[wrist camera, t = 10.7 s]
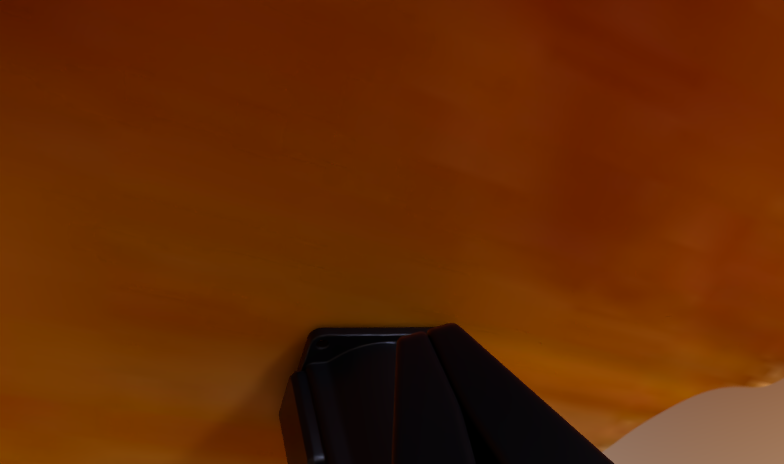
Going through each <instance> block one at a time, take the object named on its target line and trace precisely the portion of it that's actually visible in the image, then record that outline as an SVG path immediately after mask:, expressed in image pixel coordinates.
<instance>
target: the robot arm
mask: <svg viewBox="0 0 784 464" xmlns="http://www.w3.org/2000/svg"><path fill="white" fill-rule="evenodd" d="M320 340H322V341H320ZM279 417H280V423H281V430H282V434H283V440H284V445H285V451H286V457H287V462H288V464H614V463H613V462H612V461H611V460H610V459H608V458H607V457H606V456H605V455H604V454H603V453H602V452H601V451H599V450H598V449H597V448H596V447H595V446H594V445H593V444H592V443H590V442H589V441H588V440H587V439H586V438H585V437H584V436H583V435H581V434H580V433H579V432H578V431H577V430H576V429H575V428H574V427H572V426H571V425H570V424H569V423H568V422H567V421H566V420H565V419H563V418H562V417H561V416H560V415H559V414H558V413H557V412H556V411H554V410H553V409H552V408H551V407H550V406H549V405H548V404H546V403H545V402H544V401H543V400H542V399H541V398H540V397H539V396H537V395H536V394H535V393H534V392H533V391H532V390H531V389H530V388H528V387H527V386H526V385H525V384H524V383H523V382H522V381H521V380H519V379H518V378H517V377H516V376H515V375H514V374H513V373H512V372H510V371H509V370H508V369H507V368H506V367H505V366H504V365H503V364H501V363H500V362H499V361H498V360H497V359H496V358H495V357H493V356H492V355H491V354H490V353H489V352H488V351H487V350H486V349H484V348H483V347H482V346H481V345H480V344H479V343H478V342H477V341H475V340H474V339H473V338H472V337H471V336H470V335H469V334H468V333H466V332H465V331H464V330H463V329H462V328H461V327H460V326H458V325H457V324H454V323H449V324H445V325H442V326H438V327H404V328H318V329H315V330H313V331H312V332H311V333H310V334H309V336H308V338H307V341H306V344H305V348H304V351H303V354H302V357H301V360H300V364H299V367H298V370H297V371H295V372H294V373H293V374H292V375H291V376H290V378H289V382H288V385H287V388H286V392H285V395H284V398H283V401H282V405H281V408H280V411H279Z"/></svg>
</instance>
